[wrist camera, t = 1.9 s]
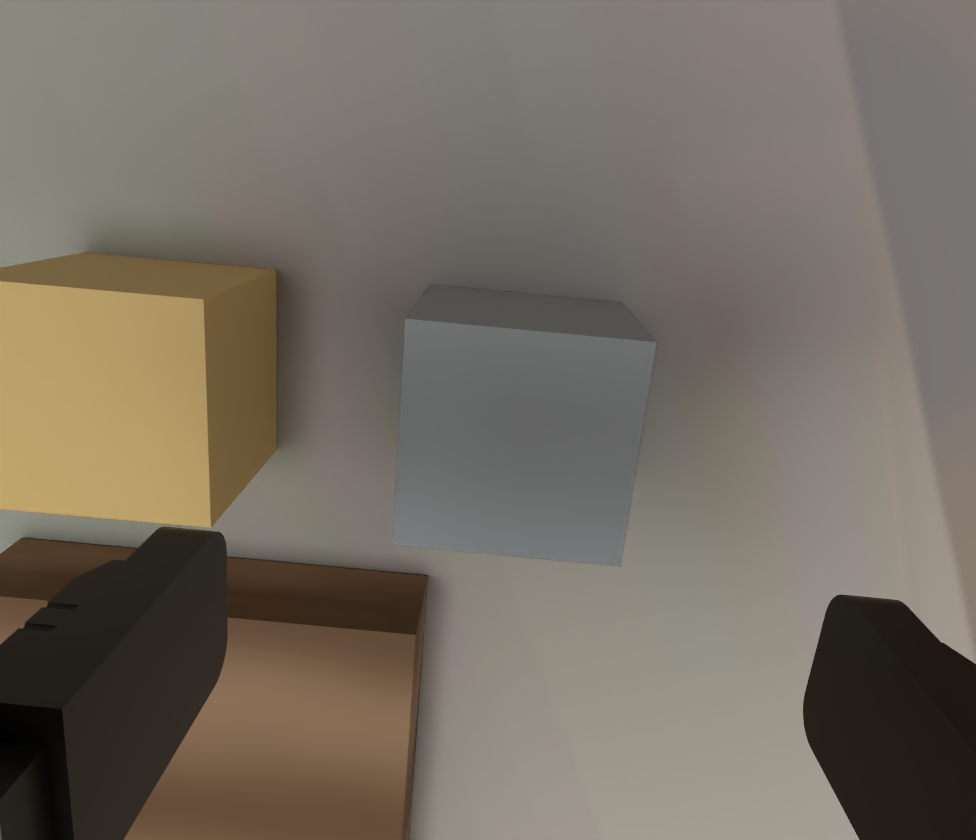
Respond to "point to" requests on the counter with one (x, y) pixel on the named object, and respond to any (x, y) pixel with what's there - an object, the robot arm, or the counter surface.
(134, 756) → the robot arm
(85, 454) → the ochre block
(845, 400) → the counter surface
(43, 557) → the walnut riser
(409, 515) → the slate block
